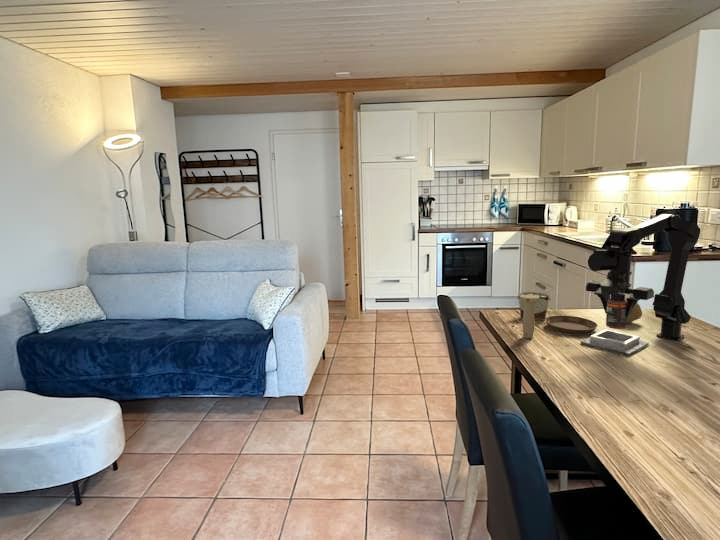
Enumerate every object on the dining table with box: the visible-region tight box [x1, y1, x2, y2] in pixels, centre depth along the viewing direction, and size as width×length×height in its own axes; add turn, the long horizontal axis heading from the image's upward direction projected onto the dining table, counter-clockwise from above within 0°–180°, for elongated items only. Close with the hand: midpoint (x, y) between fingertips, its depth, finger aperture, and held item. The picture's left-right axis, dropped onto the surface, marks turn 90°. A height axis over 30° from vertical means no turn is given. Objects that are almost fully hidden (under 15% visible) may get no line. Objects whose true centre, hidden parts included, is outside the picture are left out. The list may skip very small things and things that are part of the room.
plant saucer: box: [544, 315, 598, 336], centre depth 163 cm, size 18×18×3 cm
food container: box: [517, 291, 551, 321], centre depth 179 cm, size 12×6×10 cm, turn 71°
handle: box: [520, 295, 539, 339], centre depth 154 cm, size 5×6×15 cm
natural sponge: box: [625, 296, 643, 324], centre depth 168 cm, size 9×9×10 cm
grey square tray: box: [580, 328, 650, 358], centre depth 145 cm, size 15×15×3 cm
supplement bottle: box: [605, 293, 628, 330], centre depth 143 cm, size 6×6×11 cm
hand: (616, 315), depth 144 cm, fingers closed on supplement bottle, 6 cm apart
